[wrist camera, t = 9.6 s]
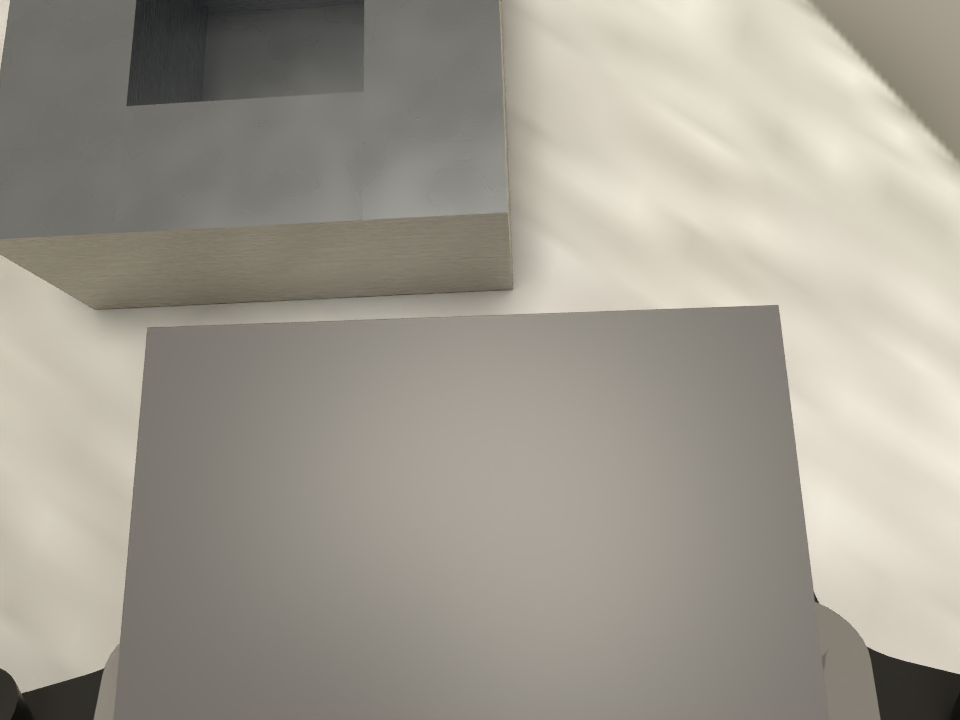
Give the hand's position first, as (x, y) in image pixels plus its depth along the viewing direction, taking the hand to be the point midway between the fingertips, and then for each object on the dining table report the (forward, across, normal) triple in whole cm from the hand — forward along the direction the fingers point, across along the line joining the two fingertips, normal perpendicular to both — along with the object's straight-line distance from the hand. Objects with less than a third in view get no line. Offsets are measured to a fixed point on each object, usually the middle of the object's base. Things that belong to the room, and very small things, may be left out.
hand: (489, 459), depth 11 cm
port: (+15, +6, -2) cm, 16 cm away
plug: (+2, 0, +5) cm, 5 cm away
